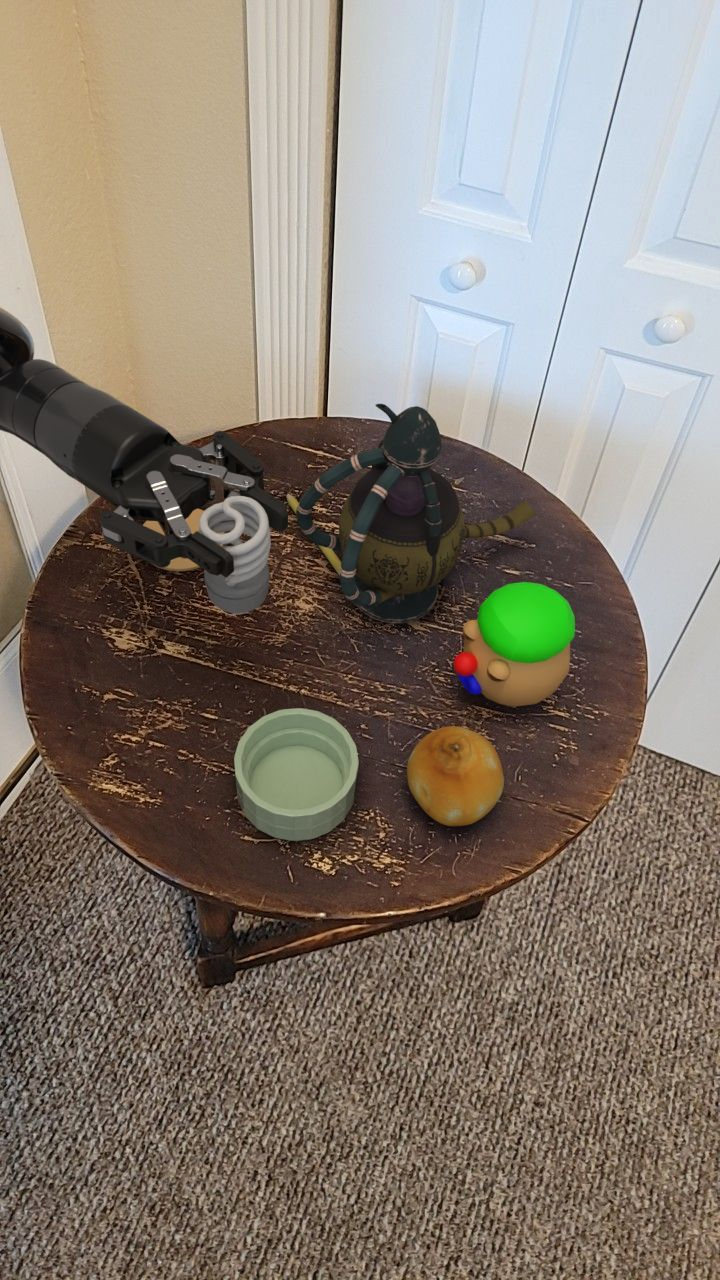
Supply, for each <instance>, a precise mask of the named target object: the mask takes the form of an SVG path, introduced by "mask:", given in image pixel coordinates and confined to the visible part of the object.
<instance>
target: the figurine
mask: <svg viewBox="0 0 720 1280" xmlns="http://www.w3.org/2000/svg"><path fill="white" fill-rule="evenodd" d="M477 613H478V614H477V618H476V619H471V620H468V621H466V622H465V623H464V624H463V626H462V627H463V628H462V633H461V634H462V636H463V638H464V639H463V649H462V651H463V652H460V653H458V654H457V655H456V656H455V657H454V659H453V669H454V671H455V672H456V674H457V677H458V679H459V681H460V682H461V685H462V686H463V687H464V689H465V690H466V691H467V692H468V693H469V694H471V695H474V696H476V695H477V696H478V695H480V694H482V695H483V697H485V698H486V699H487V700H490V701H492V702H494V703H496V704H499V705H503V706H507V707H510V708H515V707H522V706H524V707H525V706H530V705H531V706H532V705H536V704H538V703H540V702H542V701H543V700H545V699H547V698H548V697H550V696H552V695H553V694H554V693H555V692H556V690H557V689H558V688H559V687H560V685H561V684H562V683H563V681H564V680H565V678H566V677H567V676H568V674H569V673H570V668H571V667H570V664H571V641H573V639H574V638H575V637H576V636H575V635H576V620H575V614H574V612H573V610H572V607H571V605H570V603H569V601H568V600H567V599H566V598H565V597H564V596H563V595H561V594H560V592H558V591H557V590H555V589H554V588H551V587H548V586H547V585H544V584H542V583H536V582H529V581H520V582H519V581H518V582H513V583H507V584H505V585H503V586H501V587H499V588H497V589H495V590H493V591H492V592H491V593H490V594H489V596H487V598H486V599H485V600H484V601H483V602H482V604H480V605H479V607H478V612H477Z"/></svg>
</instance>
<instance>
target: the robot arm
mask: <svg viewBox="0 0 720 1280" xmlns="http://www.w3.org/2000/svg"><path fill="white" fill-rule="evenodd" d="M34 357H35V343H34V340H33V336H32V334H31V332H30V331H29V329H28V328H27V327H26V325H24V323H23V322H22V321H20V320H19V318H17V317H16V316H14V315H13V314H12V313H10V312H9V311H7V310H5V309H4V308H3V307H1V306H0V431H2V432H4V433H7V434H11V435H13V436H15V437H16V438H18V439H19V440H21V441H22V442H25V443H26V444H27V445H29V446H30V447H31V448H33V449H35V450H36V451H38V452H39V453H40V454H42V455H44V456H45V457H46V458H47V459H48V460H49V461H51V462H52V464H54V465H55V466H56V467H57V468H58V469H59V470H61V471H62V472H63V473H64V474H66V475H67V476H68V477H70V478H72V479H74V480H75V481H77V482H78V483H80V484H81V485H83V486H84V487H85V488H87V489H89V490H90V491H91V492H92V493H94V494H96V495H98V496H99V497H100V498H102V499H104V500H105V501H106V502H108V503H109V504H111V505H112V506H114V507H115V508H116V509H115V508H114V510H108V509H107V510H103V511H102V512H100V513H99V515H98V518H99V519H98V520H99V522H100V527H101V531H102V536H103V540H104V542H105V543H106V544H109V545H110V546H113V547H115V548H117V549H119V550H122V551H124V552H126V553H128V554H130V555H132V556H134V557H136V558H139V559H141V560H143V561H145V562H147V563H149V564H151V565H152V564H153V565H152V566H154V565H156V566H158V567H162V568H163V567H167V566H168V565H169V564H170V562H171V560H173V559H175V558H178V557H180V558H184V559H186V558H188V559H189V560H191V561H192V562H194V563H195V564H197V565H198V566H200V568H201V569H203V570H204V571H205V570H206V571H207V572H209V573H210V574H212V575H216V576H218V575H219V574H221V575H222V576H224V577H228V576H229V575H230V574H232V573H233V572H234V560H233V557H232V555H231V554H230V553H229V552H228V551H226V550H225V549H223V548H222V547H220V546H219V545H217V544H216V543H214V542H213V541H211V540H210V539H208V538H207V537H205V536H204V535H202V534H201V533H199V532H198V531H196V532H195V533H193V534H192V533H191V530H190V528H189V526H188V524H187V522H186V521H185V519H186V518H188V517H189V516H190V514H191V513H192V512H193V511H194V510H195V509H200V508H202V507H204V506H205V505H208V506H213V505H214V504H218V503H222V502H224V501H225V499H227V498H229V497H231V496H244V497H249V498H252V499H254V500H255V501H257V502H258V503H259V504H260V505H261V506H262V507H263V509H264V510H265V512H266V514H267V516H268V521H269V528H270V529H273V530H274V531H276V532H278V533H283V532H284V531H286V529H288V527H289V511H288V510H287V507H288V506H287V505H286V504H285V502H283V500H280V499H278V498H277V497H275V496H274V495H273V494H270V493H269V492H267V491H266V490H265V483H264V471H265V469H264V468H265V467H264V464H263V463H262V462H261V461H260V460H259V459H257V458H256V457H255V456H254V455H253V454H251V452H250V451H248V450H247V449H246V448H245V447H244V446H242V445H241V444H240V443H239V442H238V441H236V440H235V439H234V438H233V437H231V435H229V434H228V433H227V432H226V431H223V430H216V431H214V432H213V434H212V441H211V442H209V443H208V444H206V445H204V446H202V447H200V448H198V447H196V446H192V445H187V444H183V443H180V442H179V440H177V438H175V436H174V435H172V433H171V432H170V431H169V430H167V429H166V428H165V427H163V426H162V425H160V424H159V423H157V422H155V421H153V420H152V419H150V418H149V417H147V416H146V415H144V414H142V413H140V412H139V411H138V410H136V409H134V408H133V407H131V406H129V405H128V404H126V403H125V402H123V401H121V400H119V399H118V398H117V397H115V396H113V395H111V394H110V393H108V392H106V391H104V390H101V389H98V388H96V387H94V386H92V385H91V384H88V383H87V382H85V381H83V380H82V379H80V378H78V377H77V376H75V375H73V374H72V373H70V372H69V371H68V370H66V369H64V368H62V367H61V366H59V365H57V364H56V363H53V362H52V361H49V360H46V359H41V358H34ZM211 482H213V485H214V490H213V489H212V487H211ZM232 489H234V490H232ZM236 490H239V491H236ZM136 521H145V522H146V521H158V523H159V525H160V527H161V528H162V530H163V532H164V534H165V535H163V534H161V533H158V532H156V531H154V530H152V529H150V528H148V527H145V526H143V524H141V523H139V522H136ZM156 566H155V567H156ZM158 567H157V568H158Z"/></svg>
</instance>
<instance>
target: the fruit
mask: <svg viewBox="0 0 720 1280" xmlns="http://www.w3.org/2000/svg"><path fill="white" fill-rule="evenodd" d="M504 776H505V775H504V771H503V767H502V762H501V759H500V757H499V755H498V753H497V750H496V748H495V747H494V745H493V744H492V742H491V741H490V740H489V739H487V738H486V737H485V736H483V735H481V734H480V733H478V732H476V731H473V730H471V729H468V728H466V727H463V726H458V725H450V726H448V725H447V726H443V727H440V728H438V729H435V730H433V731H431V732H429V733H427V734H426V735H425V736H424V737H423V738H422V739H420V741H419V742H418V743H417V744H416V746H415V747H414V748H413V750H412V751H411V753H410V755H409V758H408V760H407V765H406V777H407V778H406V779H407V784H408V788H409V790H410V793H411V795H412V796H413V798H414V799H415V801H416V802H417V804H418V805H419V807H420V808H421V809H422V810H423V811H424V812H425V813H426V814H427V815H428V816H429V818H431V819H432V820H434V821H436V822H438V823H439V824H441V825H444V826H447V827H462V826H469V825H472V824H474V823H476V822H478V821H479V820H482V819H483V818H484V817H486V815H487V814H488V813H490V812H491V811H492V809H493V808H494V807H495V806H496V804H497V803H498V802H499V800H500V798H501V796H502V794H503V790H504V787H505V786H504V784H505V777H504Z"/></svg>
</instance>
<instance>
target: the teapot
mask: <svg viewBox="0 0 720 1280" xmlns="http://www.w3.org/2000/svg"><path fill="white" fill-rule="evenodd" d="M375 407H376V408H377V409H379V410H380V411H382V412H383V413H384V414H385V415H386V416H387V417H388V418H389V420H390V422H391V423H390V424H389V426H387V429H386V432H385V434H384V437H383V438H382V439H381V440H380V441H379V443H378V446H377V447H376V448H374V449H369V450H366V451H362V452H360V453H357V454H355V455H352V456H351V457H348V458H346V459H344V460H342V461H341V462H339V463H337V464H336V465H334V466H332V467H331V468H330V469H328V470H327V471H325V472H324V473H322V475H320V476H319V477H318V478H317V480H316V481H314V482H313V483H312V484H310V486H309V487H308V488H307V489H306V491H305V492H304V493H303V494H302V495H301V497H300V499H299V501H298V503H299V504H298V507H297V510H296V514H295V515H296V520H297V525H298V527H299V528H300V530H301V531H302V533H303V534H304V535H303V536H305V537H307V539H309V540H310V541H312V542H313V543H314V544H316V545H317V546H318V545H319V546H323V547H326V548H330V549H332V550H333V551H338V552H340V553H342V558H341V560H340V561H341V569H340V576H339V581H340V586H341V590H342V593H343V594H344V596H345V598H346V600H347V602H349V603H351V604H353V605H355V606H356V607H357V608H358V609H359V610H360V611H361V612H362V614H363V613H364V615H367V616H368V617H370V618H372V619H373V620H376V621H379V622H383V623H387V624H405V623H409V622H415V621H417V620H419V619H421V618H422V617H424V616H426V615H428V613H429V612H430V611H431V610H432V609H433V607H434V606H435V605H436V602H437V600H438V596H439V584H438V583H440V581H442V580H443V579H445V578H446V576H448V574H449V573H450V572H451V571H452V569H454V567H455V566H456V563H457V561H458V558H459V556H460V555H461V551H462V548H463V545H464V542H465V539H478V538H487V537H496V536H497V535H501V534H503V533H506V532H508V531H511V530H513V529H515V528H517V527H519V526H520V525H522V524H524V523H526V522H527V521H529V520H530V519H532V518H534V517H536V516H537V515H538V514H537V513H536V512H535V511H534V510H533V508H532V507H531V506H530V505H529V504H528V503H527V501H526V500H525V499H523V500H522V501H521V502H519V504H518V505H517V506H516V507H515V508H514V509H513V510H511V511H510V512H508V513H506V514H504V515H502V516H499V517H497V518H494V519H491V520H487V521H485V522H482V523H476V524H466V523H465V517H464V513H463V509H462V505H461V502H460V498H459V497H458V494H457V492H456V490H455V488H454V487H453V485H452V483H451V482H450V481H449V480H447V479H446V478H445V477H444V476H443V475H442V474H441V473H439V472H438V471H435V470H434V469H431V467H433V465H434V464H435V463H436V462H437V461H438V460H439V458H440V457H441V454H442V450H443V443H442V437H441V433H440V429H439V427H438V425H437V422H436V420H435V418H433V416H432V415H431V414H430V413H429V412H428V411H427V410H426V408H423V407H422V406H418V405H416V406H409V407H408V408H406V409H404V410H403V411H401V412H399V413H398V414H396V413H395V411H393V410H392V409H391V408H390V407H389V406H387V405H386V403H385V404H384V403H375ZM388 463H389V464H388ZM368 467H370V468H371V470H368V471H366V473H364V475H362V476H361V477H360V478H359V479H358V480H357V482H356V483H355V484H354V485H353V487H352V489H350V490H351V491H350V492H349V493H348V496H347V497H346V500H345V502H344V504H343V506H342V508H341V510H340V513H339V519H338V536H336V535H333V534H330V533H327V532H323V531H322V530H320V529H319V528H318V527H317V526H316V524H315V522H314V521H313V518H312V510H313V508H314V506H315V505H316V504H317V502H318V501H319V500H320V499H321V498H322V497H323V496H324V495H325V494H326V493H327V492H328V491H329V490H330V489H331V488H333V486H335V485H336V484H338V483H339V482H341V481H342V480H344V479H346V478H347V477H349V476H350V475H352V474H354V473H356V472H359V471H361V470H363V469H365V468H368ZM319 546H318V547H319Z"/></svg>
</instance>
